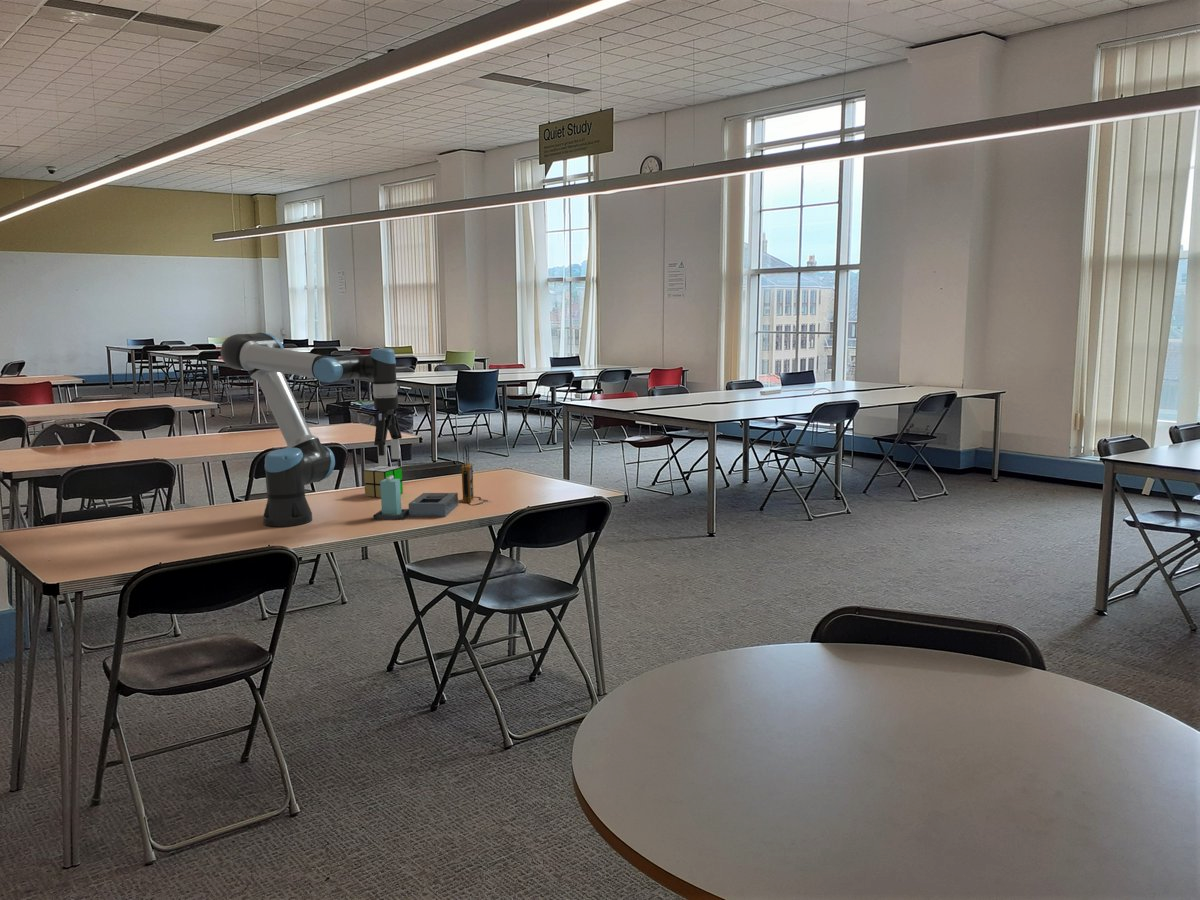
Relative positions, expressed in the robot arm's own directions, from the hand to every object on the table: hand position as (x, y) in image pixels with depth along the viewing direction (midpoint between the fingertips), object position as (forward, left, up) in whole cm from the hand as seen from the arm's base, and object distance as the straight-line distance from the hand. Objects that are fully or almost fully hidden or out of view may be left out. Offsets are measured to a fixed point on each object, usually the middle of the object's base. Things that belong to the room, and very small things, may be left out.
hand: (389, 462), depth 299 cm
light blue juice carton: (0, 0, -18) cm, 18 cm away
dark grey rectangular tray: (0, 0, -19) cm, 19 cm away
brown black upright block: (+23, +27, -19) cm, 40 cm away
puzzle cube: (-15, +39, -19) cm, 46 cm away
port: (+12, +8, -19) cm, 23 cm away
